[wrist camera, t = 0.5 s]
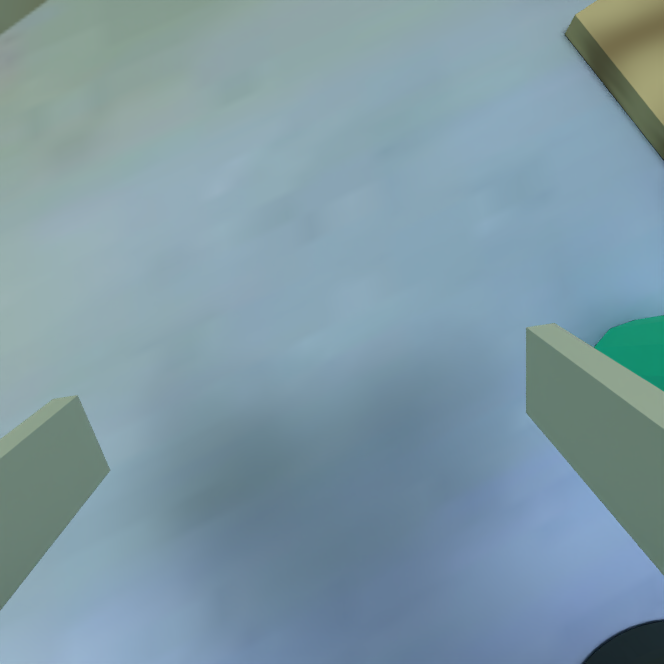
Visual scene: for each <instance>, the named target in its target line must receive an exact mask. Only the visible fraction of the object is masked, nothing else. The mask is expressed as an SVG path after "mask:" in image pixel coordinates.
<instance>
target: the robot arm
mask: <svg viewBox="0 0 664 664" xmlns="http://www.w3.org/2000/svg"><path fill="white" fill-rule="evenodd" d="M526 413H527V414H528V416H529V417H530V418H531V419H532V420H533V421H534V423H535V424H536V425H537V426H538V427H539V429H540V430H541V431H542V432H543V433H544V434H545V436H546V437H547V438H548V439H549V440H550V442H551V443H552V444H553V445H554V446H555V447H556V449H557V450H558V451H559V452H560V453H561V455H562V456H563V457H564V458H565V459H566V460H567V462H568V463H569V464H570V465H571V466H572V468H573V469H574V470H575V471H576V472H577V473H578V475H579V476H580V477H581V478H582V479H583V481H584V482H585V483H586V484H587V485H588V486H589V488H590V489H591V490H592V491H593V492H594V494H595V495H596V496H597V497H598V498H599V499H600V501H601V502H602V503H603V504H604V505H605V507H606V508H607V509H608V510H609V511H610V513H611V514H612V515H613V516H614V517H615V518H616V520H617V521H618V522H619V523H620V524H621V526H622V527H623V528H624V529H625V530H626V531H627V533H628V534H629V535H630V536H631V537H632V539H633V540H634V541H635V542H636V543H637V544H638V546H639V547H640V548H641V549H642V550H643V552H644V553H645V554H646V555H647V556H648V557H649V559H650V560H651V561H652V562H653V563H654V565H655V566H656V567H657V568H658V569H659V570H660V572H661V573H662V574H663V575H664V391H662V390H661V389H659V388H657V387H656V386H654V385H653V384H651V383H649V382H648V381H646V380H645V379H643V378H641V377H640V376H638V375H637V374H635V373H633V372H632V371H630V370H629V369H627V368H625V367H624V366H622V365H621V364H619V363H617V362H616V361H614V360H613V359H611V358H609V357H608V356H606V355H605V354H603V353H601V352H600V351H598V350H597V349H595V348H593V347H592V346H590V345H589V344H587V343H585V342H584V341H582V340H581V339H579V338H577V337H576V336H574V335H573V334H571V333H569V332H568V331H566V330H565V329H563V328H561V327H560V326H558V325H557V324H555V323H552V324H546V325H539V326H533V327H526ZM109 471H110V468H109V466H108V464H107V461H106V459H105V457H104V454H103V452H102V450H101V448H100V445H99V443H98V441H97V439H96V436H95V434H94V432H93V429H92V427H91V425H90V423H89V420H88V418H87V416H86V413H85V411H84V409H83V407H82V404H81V402H80V400H79V397H78V395H77V396H70V397H63V398H57V399H53V400H51V401H50V402H49V403H47V404H46V405H45V406H43V407H42V408H41V409H40V410H38V411H37V412H36V413H34V414H33V415H32V416H30V417H29V418H28V419H26V420H25V421H24V422H22V423H21V424H20V425H19V426H17V427H16V428H15V429H13V430H12V431H11V432H9V433H8V434H7V435H5V436H4V437H3V438H1V439H0V610H1V609H2V608H3V607H4V605H5V604H6V603H7V601H8V600H9V599H10V598H11V596H12V595H13V594H14V593H15V591H16V590H17V589H18V587H19V586H20V585H21V584H22V582H23V581H24V580H25V578H26V577H27V576H28V575H29V573H30V572H31V571H32V570H33V568H34V567H35V566H36V564H37V563H38V562H39V561H40V559H41V558H42V557H43V556H44V554H45V553H46V552H47V550H48V549H49V548H50V547H51V545H52V544H53V543H54V542H55V540H56V539H57V538H58V536H59V535H60V534H61V533H62V531H63V530H64V529H65V528H66V526H67V525H68V524H69V522H70V521H71V520H72V519H73V517H74V516H75V515H76V513H77V512H78V511H79V510H80V508H81V507H82V506H83V505H84V503H85V502H86V501H87V499H88V498H89V497H90V496H91V494H92V493H93V492H94V491H95V489H96V488H97V487H98V485H99V484H100V483H101V482H102V480H103V479H104V478H105V477H106V475H107V474H108V473H109ZM585 664H664V622H657V623H652V624H647V625H644V626H640V627H637V628H634V629H632V630H629V631H627V632H625V633H623V634H621V635H619V636H617V637H615V638H614V639H612V640H611V641H609V642H608V643H606V644H605V645H604V646H602V647H601V648H600V649H599V650H597V651H596V652H595V653H594V654H593V655H592V656H591V657H590V658H589V660H588V661H587V662H586V663H585Z"/></svg>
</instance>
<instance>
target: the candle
mask: <svg viewBox="0 0 664 664" xmlns="http://www.w3.org/2000/svg"><path fill="white" fill-rule="evenodd" d="M594 348H595V349H597V350H598V351H600V352H601V353H603V354H605V355H606V356H608V357H609V358H611V359H613V360H614V361H616V362H617V363H619V364H621V365H622V366H624V367H625V368H627V369H629V370H630V371H632V372H633V373H635V374H637V375H638V376H640V377H641V378H643V379H645V380H646V381H648V382H649V383H651V384H653V385H654V386H656V387H657V388H659V389H661V390H662V391H664V315H663V316H657V317H650V318H644V319H638V320H633V321H631V322H628V323H625V324H622V325H619V326H616V327H614V328H611V329H609V331H608V332H607V333H606V334H605V335H604V336H603V338H602V339H601V340H600V341H599V342H598V343H597V345H596V346H595V347H594Z"/></svg>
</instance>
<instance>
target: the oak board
mask: <svg viewBox="0 0 664 664" xmlns="http://www.w3.org/2000/svg"><path fill="white" fill-rule="evenodd" d="M565 35H566V36H567V37H568V39H569V40H570V41H571V42H572V44H573V45H574V46H575V48H576V49H577V50H578V51H579V53H580V54H581V55H582V56H583V58H584V59H585V60H586V62H587V63H588V64H589V65H590V67H591V68H592V69H593V70H594V72H595V73H596V74H597V76H598V77H599V78H600V79H601V81H602V82H603V83H604V84H605V86H606V87H607V88H608V89H609V91H610V92H611V93H612V95H613V96H614V97H615V98H616V100H617V101H618V102H619V103H620V105H621V106H622V107H623V109H624V110H625V111H626V112H627V114H628V115H629V116H630V117H631V119H632V120H633V121H634V123H635V124H636V125H637V126H638V128H639V129H640V130H641V131H642V133H643V134H644V135H645V137H646V138H647V139H648V140H649V142H650V143H651V144H652V145H653V147H654V148H655V149H656V151H657V152H658V153H659V154H660V156H661V157H662V158H663V159H664V0H597V1H596V2H594V3H593V4H591V5H589V6H588V7H586V8H585V9H583V10H582V11H580V12H579V13H577V14H576V15H575V16H574V18H573V20H572V22H571V24H570V25H569V27H568V29H567V31H566V33H565Z"/></svg>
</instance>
